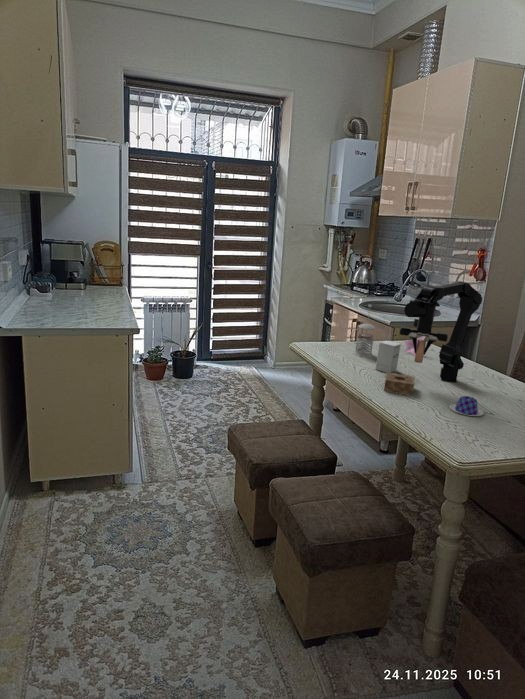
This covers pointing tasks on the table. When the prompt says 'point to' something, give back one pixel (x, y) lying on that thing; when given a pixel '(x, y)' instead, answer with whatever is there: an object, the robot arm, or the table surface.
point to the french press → (369, 340)
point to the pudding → (467, 406)
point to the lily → (412, 345)
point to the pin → (420, 351)
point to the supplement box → (388, 356)
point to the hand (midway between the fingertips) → (419, 353)
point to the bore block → (399, 383)
